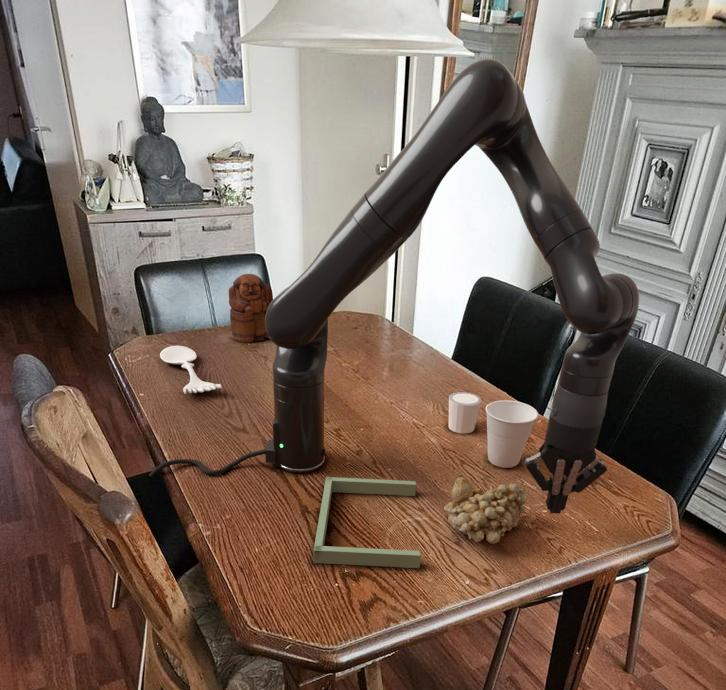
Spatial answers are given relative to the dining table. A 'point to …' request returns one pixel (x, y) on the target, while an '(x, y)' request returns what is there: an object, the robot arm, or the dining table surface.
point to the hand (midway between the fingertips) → (553, 510)
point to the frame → (362, 554)
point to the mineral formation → (485, 510)
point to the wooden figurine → (249, 308)
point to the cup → (508, 431)
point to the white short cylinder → (463, 412)
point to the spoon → (184, 357)
